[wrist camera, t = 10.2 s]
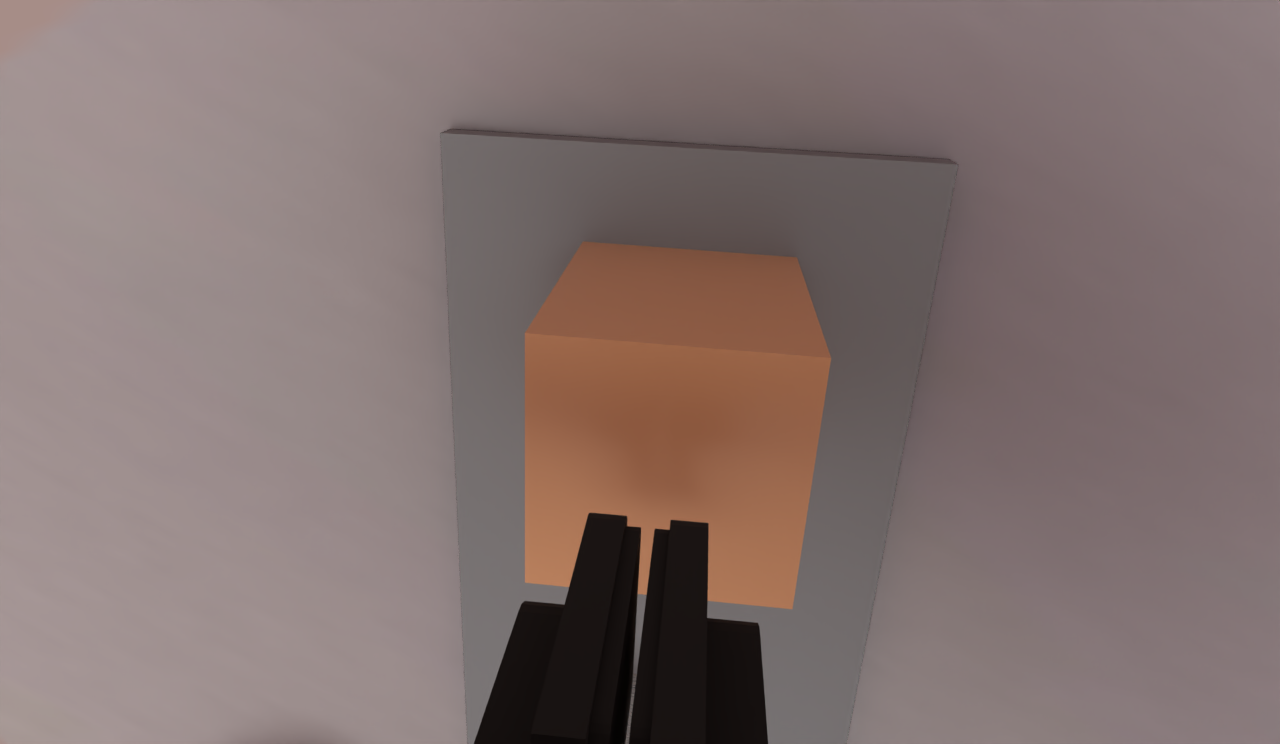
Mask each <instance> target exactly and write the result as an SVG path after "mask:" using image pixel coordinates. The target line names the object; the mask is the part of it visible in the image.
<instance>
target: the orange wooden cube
mask: <svg viewBox="0 0 1280 744" xmlns="http://www.w3.org/2000/svg"><path fill="white" fill-rule="evenodd" d="M830 362H831V356H830V353H829V350H828V347H827V344H826V341H825V339H824V336H823V333H822V330H821V327H820V324H819V321H818V318H817V315H816V312H815V309H814V306H813V303H812V300H811V297H810V294H809V291H808V289H807V286H806V283H805V280H804V277H803V274H802V271H801V268H800V265H799V262H798V259H797V257H785V256H772V255H758V254H745V253H731V252H718V251H705V250H691V249H678V248H664V247H651V246H637V245H624V244H610V243H597V242H582V244H581V245H580V247H579V248H578V250H577V252H576V253H575V255H574V256H573V258H572V259H571V261H570V263H569V264H568V266H567V267H566V269H565V270H564V272H563V274H562V275H561V277H560V278H559V280H558V282H557V283H556V285H555V286H554V288H553V289H552V291H551V293H550V294H549V296H548V297H547V299H546V300H545V302H544V304H543V305H542V307H541V308H540V310H539V312H538V313H537V315H536V316H535V318H534V319H533V321H532V323H531V324H530V326H529V327H528V329H527V330H526V332H525V583H533V584H543V585H553V586H563V587H569V586H570V582H571V578H572V574H573V570H574V567H575V563H576V559H577V555H578V551H579V547H580V544H581V540H582V536H583V532H584V528H585V525H586V521H587V517H588V514H589V513H601V514H612V515H624V516H627V526H632V527H641V545H640V562H639V580H638V594H643V595H647V587H648V579H649V571H650V562H651V554H652V546H653V538H654V530H655V529H666V530H670V521H671V520H681V521H692V522H704V523H709V539H708V601H714V602H724V603H734V604H744V605H754V606H764V607H774V608H784V609H793V602H794V596H795V589H796V583H797V576H798V570H799V563H800V557H801V550H802V544H803V537H804V531H805V524H806V518H807V511H808V505H809V498H810V492H811V486H812V479H813V473H814V466H815V460H816V453H817V447H818V440H819V434H820V427H821V421H822V414H823V408H824V401H825V395H826V388H827V382H828V375H829V369H830Z"/></svg>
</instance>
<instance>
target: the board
mask: <svg viewBox="0 0 1280 744" xmlns="http://www.w3.org/2000/svg"><path fill="white" fill-rule="evenodd" d="M440 139H441V162H442V185H443V207H444V230H445V252H446V275H447V297H448V320H449V342H450V365H451V388H452V410H453V433H454V455H455V478H456V500H457V523H458V545H459V568H460V591H461V613H462V636H463V658H464V681H465V703H466V726H467V744H474V741H475V738H476V735H477V732H478V729H479V727H480V724H481V721H482V718H483V715H484V712H485V709H486V706H487V703H488V700H489V697H490V694H491V691H492V688H493V685H494V682H495V679H496V676H497V673H498V670H499V667H500V664H501V661H502V658H503V655H504V652H505V650H506V647H507V644H508V641H509V638H510V635H511V632H512V629H513V626H514V623H515V620H516V617H517V614H518V611H519V609H520V606H521V604H522V603H523V602H524V601H533V602H543V603H554V604H564V605H565V601H566V597H567V593H568V590H569V587H563V586H553V585H543V584H533V583H525V332H526V330H527V329H528V327H529V326H530V324H531V323H532V321H533V319H534V318H535V316H536V315H537V313H538V312H539V310H540V308H541V307H542V305H543V304H544V302H545V300H546V299H547V297H548V296H549V294H550V293H551V291H552V289H553V288H554V286H555V285H556V283H557V282H558V280H559V278H560V277H561V275H562V274H563V272H564V270H565V269H566V267H567V266H568V264H569V263H570V261H571V259H572V258H573V256H574V255H575V253H576V252H577V250H578V248H579V247H580V245H581V244H582V242H597V243H610V244H624V245H637V246H651V247H664V248H678V249H691V250H705V251H718V252H731V253H745V254H758V255H772V256H785V257H797V259H798V262H799V265H800V268H801V271H802V274H803V277H804V280H805V283H806V286H807V289H808V291H809V294H810V297H811V300H812V303H813V306H814V309H815V312H816V315H817V318H818V321H819V324H820V327H821V330H822V333H823V336H824V339H825V341H826V344H827V347H828V350H829V353H830V356H831V362H830V369H829V375H828V382H827V388H826V395H825V401H824V408H823V414H822V421H821V427H820V434H819V440H818V447H817V453H816V460H815V466H814V473H813V479H812V486H811V492H810V498H809V505H808V511H807V518H806V524H805V531H804V537H803V544H802V550H801V557H800V563H799V570H798V576H797V583H796V589H795V596H794V602H793V609H784V608H774V607H764V606H754V605H744V604H734V603H724V602H714V601H708V606H707V618H713V619H724V620H734V621H745V622H755V623H758V624H759V628H760V638H761V651H762V665H763V679H764V693H765V707H766V720H767V734H768V744H847V739H848V733H849V728H850V723H851V718H852V713H853V708H854V702H855V697H856V692H857V687H858V682H859V677H860V671H861V666H862V661H863V656H864V651H865V645H866V640H867V635H868V630H869V625H870V620H871V614H872V609H873V604H874V599H875V594H876V589H877V583H878V578H879V573H880V568H881V563H882V558H883V552H884V547H885V542H886V537H887V532H888V526H889V521H890V516H891V511H892V506H893V501H894V495H895V490H896V485H897V480H898V475H899V470H900V464H901V459H902V454H903V449H904V444H905V439H906V433H907V428H908V423H909V418H910V413H911V407H912V402H913V397H914V392H915V387H916V382H917V376H918V371H919V366H920V361H921V356H922V351H923V345H924V340H925V335H926V330H927V325H928V319H929V314H930V309H931V304H932V299H933V294H934V288H935V283H936V278H937V273H938V268H939V263H940V257H941V252H942V247H943V242H944V237H945V232H946V226H947V221H948V216H949V211H950V206H951V200H952V195H953V190H954V185H955V180H956V175H957V169H958V164H957V163H955V162H953V161H951V160H950V159H935V158H919V157H902V156H886V155H870V154H853V153H837V152H820V151H804V150H787V149H771V148H754V147H738V146H721V145H705V144H688V143H672V142H655V141H639V140H622V139H606V138H589V137H573V136H556V135H540V134H523V133H507V132H490V131H474V130H457V129H449V130H447V131H444V132H441V133H440ZM645 603H646V595H643V594H638V597H637V615H636V633H635V650H634V668H633V674H637V669H638V661H639V652H640V644H641V636H642V628H643V620H644V612H645Z"/></svg>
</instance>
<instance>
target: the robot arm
mask: <svg viewBox="0 0 1280 744" xmlns="http://www.w3.org/2000/svg"><path fill="white" fill-rule="evenodd" d="M708 539H709V523H704V522H692V521H681V520H671V521H670V530H666V529H655V530H654V538H653V546H652V554H651V562H650V571H649V579H648V587H647V595H646V603H645V612H644V620H643V628H642V636H641V644H640V652H639V661H638V669H637V677H636V685H635V693H634V701H633V710H632V718H631V727H630V737H629V744H768V734H767V720H766V707H765V693H764V679H763V665H762V651H761V638H760V628H759V624H758V623H755V622H745V621H734V620H724V619H713V618H707V606H708ZM640 545H641V527H632V526H627V516H624V515H612V514H601V513H589V514H588V517H587V521H586V525H585V528H584V532H583V536H582V540H581V544H580V547H579V551H578V555H577V559H576V563H575V567H574V570H573V574H572V578H571V582H570V586H569V590H568V593H567V597H566V601H565V605H564V604H554V603H543V602H533V601H524V602H523V603H522V604H521V606H520V609H519V611H518V614H517V617H516V620H515V623H514V626H513V629H512V632H511V635H510V638H509V641H508V644H507V647H506V650H505V652H504V655H503V658H502V661H501V664H500V667H499V670H498V673H497V676H496V679H495V682H494V685H493V688H492V691H491V694H490V697H489V700H488V703H487V706H486V709H485V712H484V715H483V718H482V721H481V724H480V727H479V729H478V732H477V735H476V738H475V741H474V744H625V742H626V735H627V727H628V719H629V711H630V703H631V694H632V683H633V668H634V650H635V633H636V615H637V597H638V580H639V562H640Z"/></svg>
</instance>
